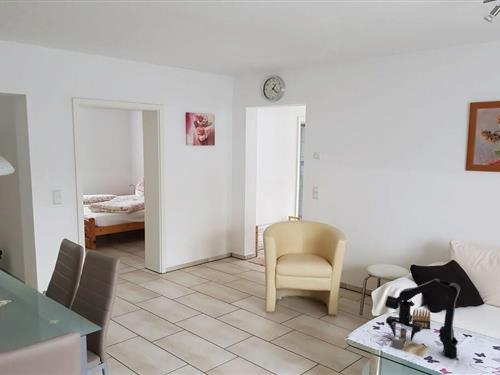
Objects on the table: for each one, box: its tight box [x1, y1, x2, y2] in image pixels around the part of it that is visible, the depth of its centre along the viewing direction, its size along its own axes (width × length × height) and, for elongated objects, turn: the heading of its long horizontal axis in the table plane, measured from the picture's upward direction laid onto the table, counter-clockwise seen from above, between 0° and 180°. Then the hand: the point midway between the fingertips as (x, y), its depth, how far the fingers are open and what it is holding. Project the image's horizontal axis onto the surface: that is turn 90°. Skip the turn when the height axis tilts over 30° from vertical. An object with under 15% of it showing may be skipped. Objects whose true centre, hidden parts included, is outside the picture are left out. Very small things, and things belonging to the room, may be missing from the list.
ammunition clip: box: [411, 308, 431, 330], centre depth 254 cm, size 11×2×12 cm, turn 84°
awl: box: [399, 327, 407, 343], centre depth 233 cm, size 3×3×7 cm
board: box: [388, 340, 431, 358], centre depth 226 cm, size 18×14×1 cm
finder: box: [391, 335, 404, 351], centre depth 226 cm, size 5×5×5 cm
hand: (402, 338), depth 233 cm, fingers open, 9 cm apart
